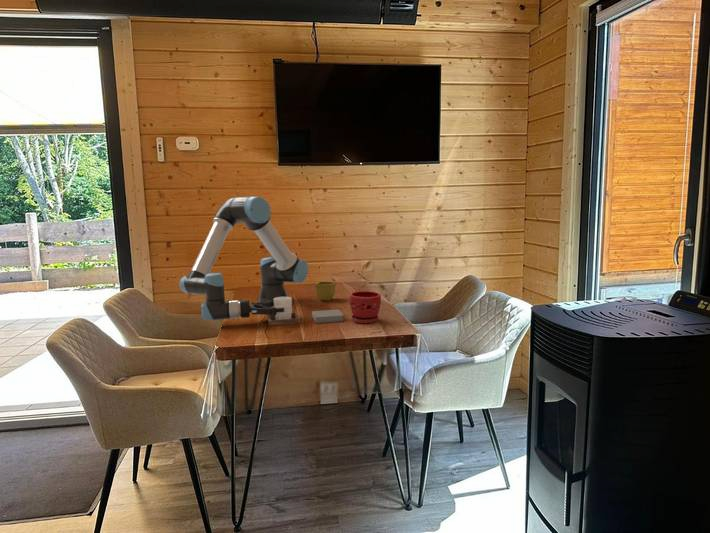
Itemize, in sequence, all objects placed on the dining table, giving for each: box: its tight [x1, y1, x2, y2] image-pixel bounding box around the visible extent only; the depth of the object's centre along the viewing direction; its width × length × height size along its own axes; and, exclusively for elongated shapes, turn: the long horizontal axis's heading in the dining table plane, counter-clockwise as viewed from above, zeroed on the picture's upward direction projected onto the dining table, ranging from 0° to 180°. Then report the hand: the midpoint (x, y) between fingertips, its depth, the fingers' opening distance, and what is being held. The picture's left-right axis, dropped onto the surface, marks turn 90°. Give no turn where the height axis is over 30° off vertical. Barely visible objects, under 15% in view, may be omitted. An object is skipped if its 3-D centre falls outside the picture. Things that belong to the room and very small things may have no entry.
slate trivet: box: [311, 309, 345, 324], centre depth 210 cm, size 12×12×2 cm
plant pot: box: [349, 290, 382, 324], centre depth 204 cm, size 13×13×12 cm
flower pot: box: [315, 281, 337, 301], centre depth 251 cm, size 9×9×9 cm
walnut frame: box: [267, 311, 301, 327], centre depth 208 cm, size 13×13×2 cm
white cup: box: [273, 296, 293, 320], centre depth 207 cm, size 8×8×10 cm
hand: (290, 305), depth 208 cm, fingers open, 13 cm apart
